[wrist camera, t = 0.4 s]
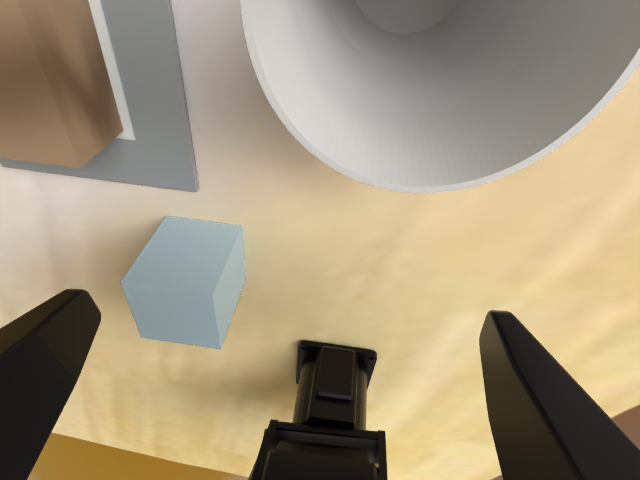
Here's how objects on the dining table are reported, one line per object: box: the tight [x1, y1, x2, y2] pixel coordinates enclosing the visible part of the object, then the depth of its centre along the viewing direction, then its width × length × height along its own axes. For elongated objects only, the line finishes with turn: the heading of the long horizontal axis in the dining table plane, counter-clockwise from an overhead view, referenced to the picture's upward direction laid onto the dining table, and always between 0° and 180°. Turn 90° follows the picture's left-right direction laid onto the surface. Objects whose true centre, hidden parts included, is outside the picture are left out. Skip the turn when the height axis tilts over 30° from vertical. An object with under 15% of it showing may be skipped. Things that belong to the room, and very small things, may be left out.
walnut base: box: [0, 0, 124, 168], centre depth 17 cm, size 7×7×4 cm
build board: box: [0, 0, 199, 192], centre depth 19 cm, size 12×12×1 cm
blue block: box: [120, 216, 246, 349], centre depth 24 cm, size 5×5×6 cm
